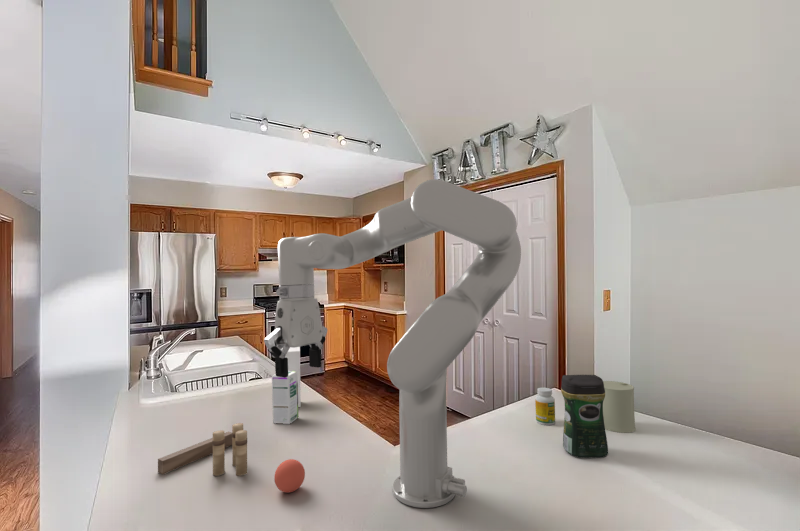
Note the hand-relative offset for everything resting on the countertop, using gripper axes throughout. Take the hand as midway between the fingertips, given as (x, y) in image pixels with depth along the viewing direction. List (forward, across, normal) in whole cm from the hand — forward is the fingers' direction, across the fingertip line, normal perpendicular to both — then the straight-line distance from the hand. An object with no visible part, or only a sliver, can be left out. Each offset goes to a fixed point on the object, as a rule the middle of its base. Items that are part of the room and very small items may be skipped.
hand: (299, 371), depth 87 cm
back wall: (+22, -6, +29) cm, 37 cm away
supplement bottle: (+24, +59, -38) cm, 74 cm away
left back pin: (+22, -8, +18) cm, 30 cm away
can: (+25, +66, -55) cm, 89 cm away
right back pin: (+22, -4, +18) cm, 29 cm away
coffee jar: (+24, +43, -50) cm, 71 cm away
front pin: (+22, -6, +13) cm, 27 cm away
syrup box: (+22, +22, +30) cm, 43 cm away
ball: (+20, -5, -2) cm, 20 cm away
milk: (+22, +32, +40) cm, 56 cm away
